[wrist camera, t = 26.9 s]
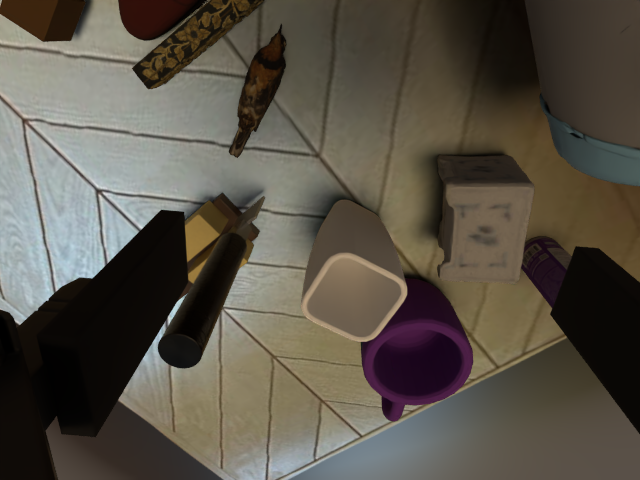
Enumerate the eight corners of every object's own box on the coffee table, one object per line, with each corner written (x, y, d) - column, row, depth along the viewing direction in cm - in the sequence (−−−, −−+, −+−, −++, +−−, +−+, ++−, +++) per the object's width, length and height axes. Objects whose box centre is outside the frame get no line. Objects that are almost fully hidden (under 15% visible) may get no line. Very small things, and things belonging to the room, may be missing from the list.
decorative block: (161, 87, 43) (147, 91, 40) (144, 65, 42) (129, 68, 39) (286, -15, 39) (281, -19, 35) (270, -42, 38) (263, -48, 35)
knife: (246, 227, 47) (173, 380, 26) (229, 210, 46) (140, 354, 26) (273, 205, 46) (218, 348, 25) (256, 187, 45) (185, 319, 24)
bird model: (303, 36, 40) (301, 36, 38) (244, 159, 46) (239, 166, 43) (273, 17, 40) (269, 16, 37) (216, 144, 45) (209, 151, 43)
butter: (214, 276, 51) (205, 295, 47) (169, 234, 48) (156, 250, 45) (254, 244, 49) (247, 262, 45) (209, 199, 46) (198, 213, 43)
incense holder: (426, 154, 45) (448, 186, 36) (508, 151, 44) (553, 182, 35) (421, 239, 49) (440, 288, 40) (496, 237, 49) (534, 286, 39)
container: (523, 278, 51) (589, 367, 37) (512, 245, 49) (577, 327, 36) (564, 263, 50) (648, 349, 36) (554, 229, 48) (638, 307, 34)
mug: (369, 262, 51) (376, 313, 42) (464, 278, 51) (491, 332, 42) (340, 373, 58) (341, 436, 49) (423, 386, 59) (438, 451, 50)
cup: (305, 237, 49) (293, 313, 36) (337, 184, 46) (336, 245, 33) (360, 265, 51) (368, 349, 37) (394, 215, 48) (416, 286, 34)
